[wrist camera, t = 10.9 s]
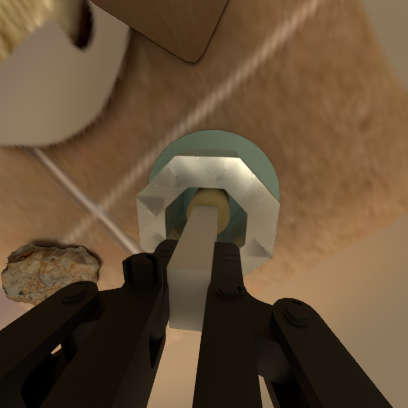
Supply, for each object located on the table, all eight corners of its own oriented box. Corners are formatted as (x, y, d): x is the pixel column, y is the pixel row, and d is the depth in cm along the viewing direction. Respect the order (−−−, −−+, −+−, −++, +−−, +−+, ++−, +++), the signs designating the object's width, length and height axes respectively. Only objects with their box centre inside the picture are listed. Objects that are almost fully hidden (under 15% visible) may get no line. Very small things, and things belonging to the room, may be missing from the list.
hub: (132, 196, 22) (99, 218, 16) (207, 100, 18) (199, 84, 12) (216, 265, 23) (214, 307, 18) (301, 190, 20) (331, 212, 14)
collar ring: (166, 239, 20) (143, 278, 15) (162, 147, 18) (131, 154, 12) (255, 245, 20) (267, 289, 14) (266, 151, 17) (287, 159, 11)
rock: (33, 287, 28) (93, 315, 26) (-24, 311, 22) (48, 350, 20) (44, 226, 27) (108, 250, 25) (-12, 234, 21) (65, 266, 19)
